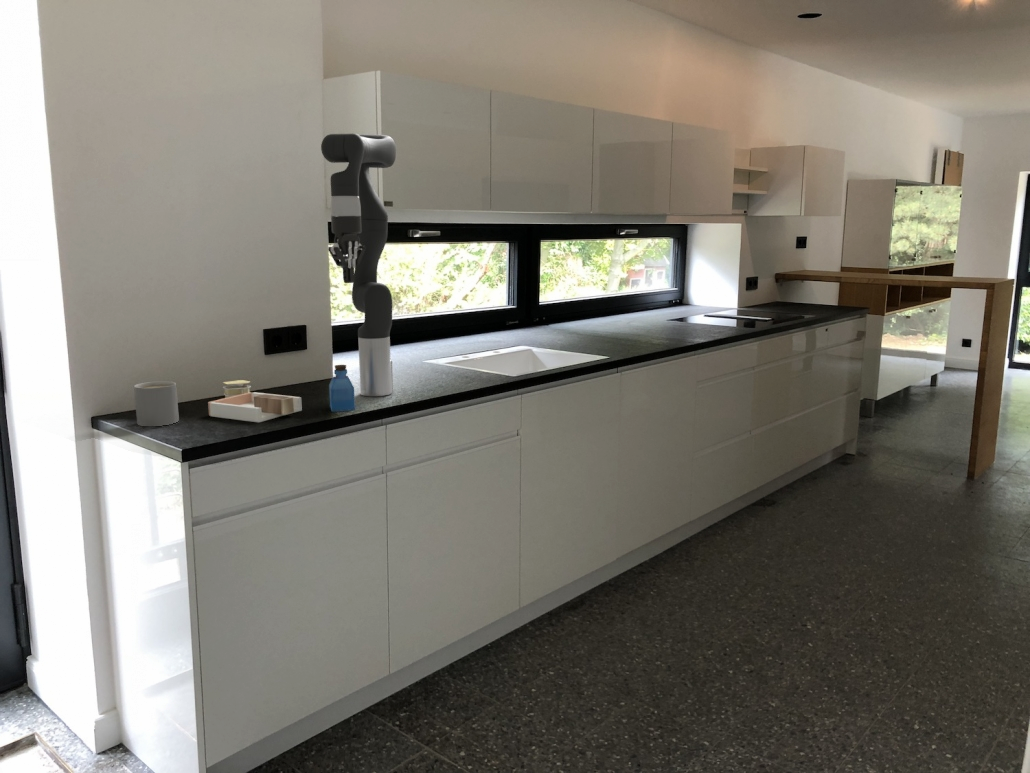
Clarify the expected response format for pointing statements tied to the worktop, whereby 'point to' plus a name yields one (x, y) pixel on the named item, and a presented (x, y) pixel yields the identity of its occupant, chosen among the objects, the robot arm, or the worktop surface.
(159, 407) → the coffee mug
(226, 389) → the glass food container
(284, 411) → the walnut block
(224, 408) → the tray
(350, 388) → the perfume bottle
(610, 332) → the worktop surface
